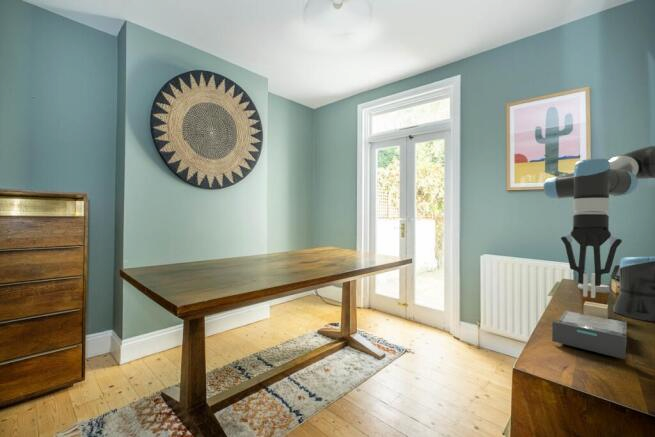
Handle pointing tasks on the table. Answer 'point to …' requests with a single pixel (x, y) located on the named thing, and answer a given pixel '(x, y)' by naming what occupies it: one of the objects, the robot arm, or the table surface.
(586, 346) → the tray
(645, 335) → the table surface
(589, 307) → the oak block
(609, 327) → the box
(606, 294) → the disposable coffee cup
